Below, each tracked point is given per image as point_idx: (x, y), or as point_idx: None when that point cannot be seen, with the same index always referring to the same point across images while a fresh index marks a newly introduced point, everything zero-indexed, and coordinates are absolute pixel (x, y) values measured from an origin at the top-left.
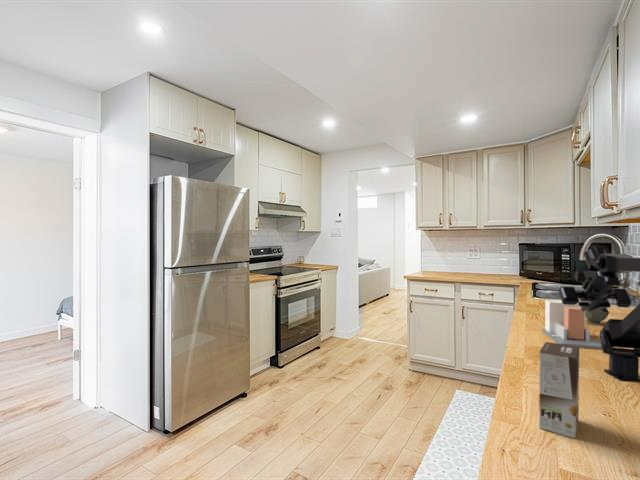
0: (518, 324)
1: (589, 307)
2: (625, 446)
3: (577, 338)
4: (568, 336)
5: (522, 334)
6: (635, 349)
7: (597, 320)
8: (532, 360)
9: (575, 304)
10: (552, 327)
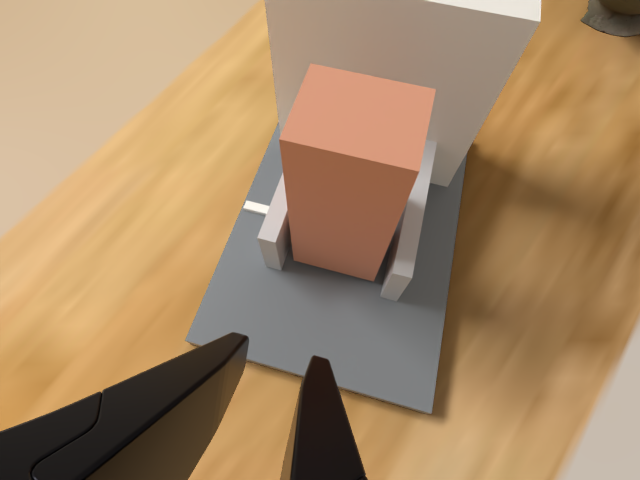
0: (253, 19)
1: (295, 413)
2: None
3: (340, 271)
4: (294, 256)
5: (146, 149)
6: None
7: (633, 11)
8: None
9: (457, 14)
10: None
